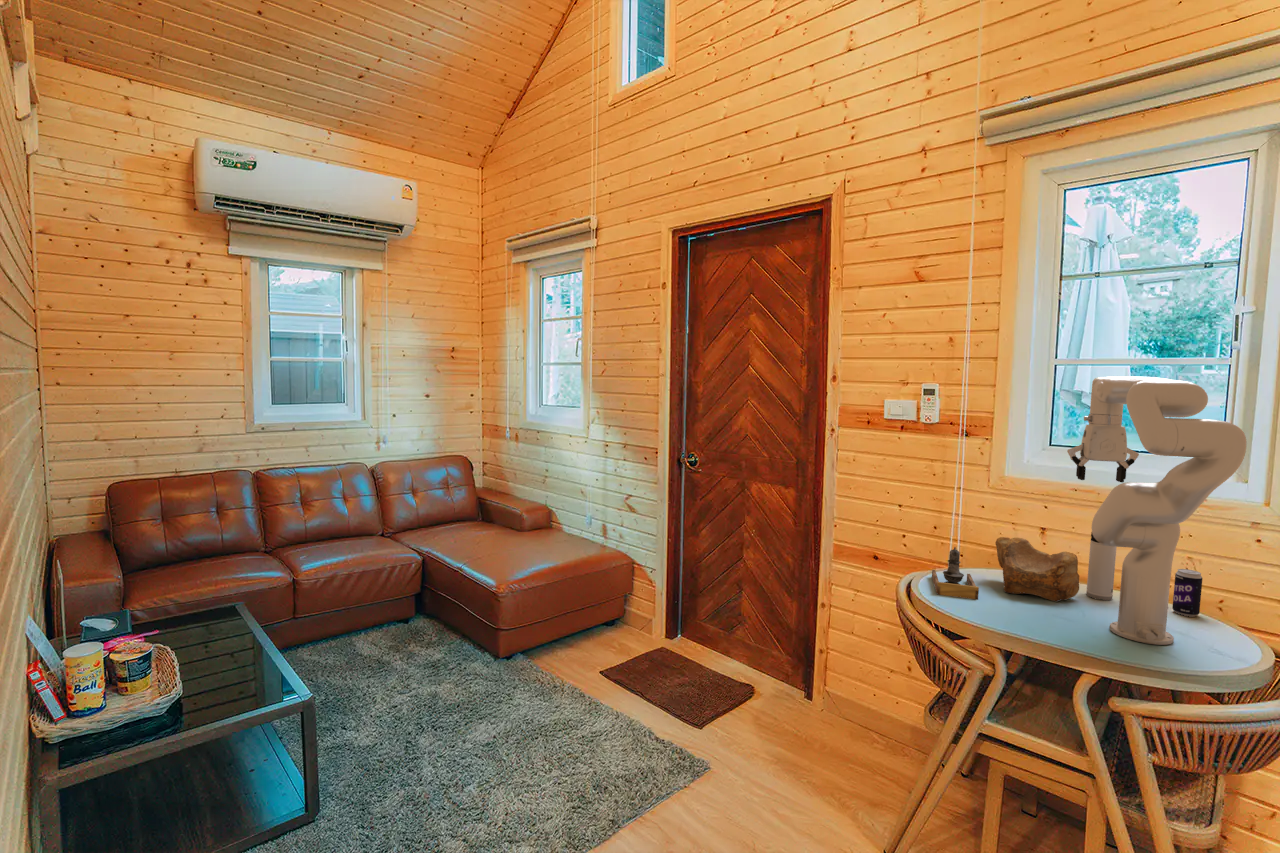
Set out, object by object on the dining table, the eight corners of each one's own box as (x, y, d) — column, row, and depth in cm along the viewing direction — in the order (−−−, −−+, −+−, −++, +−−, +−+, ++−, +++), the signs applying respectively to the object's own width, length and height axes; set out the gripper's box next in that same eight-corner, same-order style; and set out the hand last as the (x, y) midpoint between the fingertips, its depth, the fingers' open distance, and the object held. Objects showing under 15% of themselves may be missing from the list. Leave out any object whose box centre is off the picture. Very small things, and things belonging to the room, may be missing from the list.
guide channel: (978, 599, 184) (978, 587, 184) (936, 594, 188) (937, 582, 188) (969, 581, 201) (970, 570, 201) (931, 577, 205) (932, 566, 204)
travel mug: (1118, 601, 186) (1124, 533, 185) (1095, 600, 186) (1101, 532, 185) (1103, 593, 192) (1108, 528, 191) (1081, 593, 192) (1086, 527, 191)
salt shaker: (963, 584, 198) (966, 546, 197) (962, 589, 193) (965, 550, 192) (943, 580, 201) (945, 543, 200) (941, 585, 196) (943, 547, 195)
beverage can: (1170, 608, 180) (1173, 567, 179) (1196, 613, 177) (1200, 570, 177) (1174, 615, 175) (1178, 572, 175) (1201, 619, 173) (1205, 575, 172)
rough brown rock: (972, 588, 197) (974, 541, 195) (1001, 576, 206) (1003, 531, 204) (1054, 615, 178) (1058, 563, 175) (1082, 600, 187) (1086, 551, 184)
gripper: (1075, 420, 179) (1071, 480, 181) (1147, 423, 175) (1142, 484, 177) (1065, 418, 187) (1060, 476, 188) (1134, 421, 182) (1128, 480, 184)
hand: (1100, 480), depth 182 cm, fingers open, 9 cm apart
